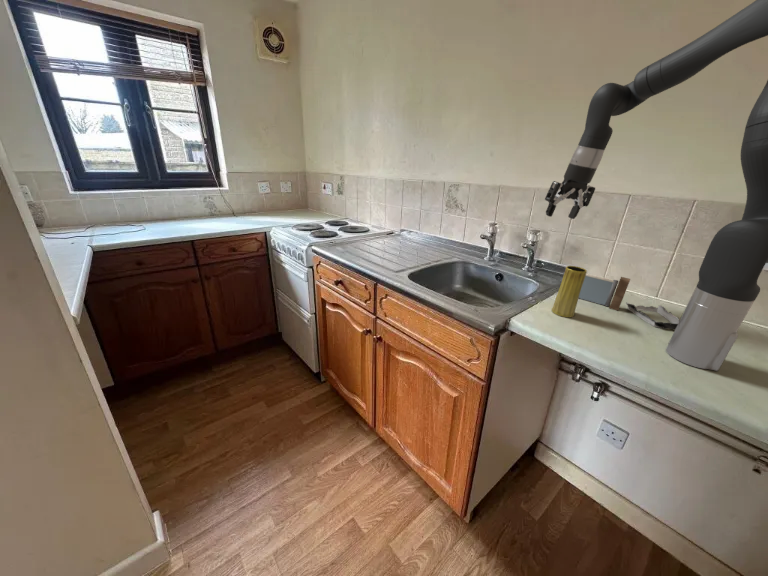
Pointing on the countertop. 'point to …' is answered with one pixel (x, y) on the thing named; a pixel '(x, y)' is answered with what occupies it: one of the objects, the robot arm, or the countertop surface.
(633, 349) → the countertop surface
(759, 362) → the countertop surface
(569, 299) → the vase
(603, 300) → the grey flat panel
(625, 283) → the gate post
